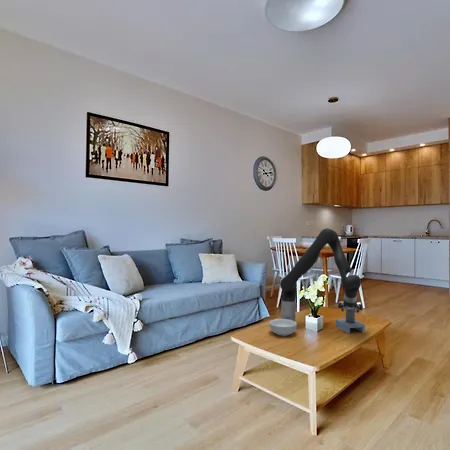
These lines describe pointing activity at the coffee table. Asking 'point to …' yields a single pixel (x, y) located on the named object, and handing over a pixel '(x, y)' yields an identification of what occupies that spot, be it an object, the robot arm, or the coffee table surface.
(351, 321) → the dark grey cylinder
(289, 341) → the coffee table surface
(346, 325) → the bench shelf
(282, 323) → the cereal bowl
